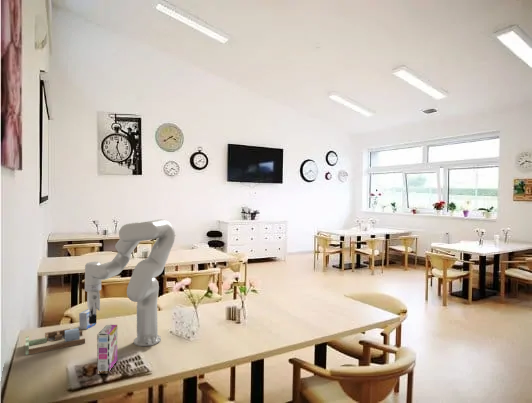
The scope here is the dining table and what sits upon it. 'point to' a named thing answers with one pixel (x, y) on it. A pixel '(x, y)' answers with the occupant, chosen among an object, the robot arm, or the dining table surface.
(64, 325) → the dining table surface
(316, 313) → the dining table surface
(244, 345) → the dining table surface
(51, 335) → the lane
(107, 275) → the robot arm
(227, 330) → the dining table surface
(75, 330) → the block
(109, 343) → the candy bar box
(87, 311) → the medicine box
